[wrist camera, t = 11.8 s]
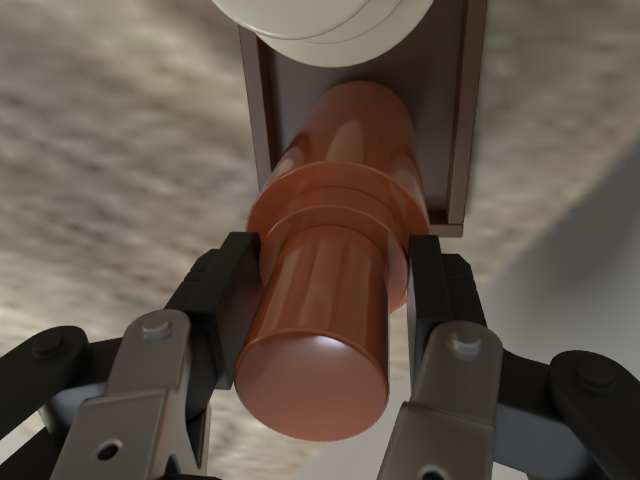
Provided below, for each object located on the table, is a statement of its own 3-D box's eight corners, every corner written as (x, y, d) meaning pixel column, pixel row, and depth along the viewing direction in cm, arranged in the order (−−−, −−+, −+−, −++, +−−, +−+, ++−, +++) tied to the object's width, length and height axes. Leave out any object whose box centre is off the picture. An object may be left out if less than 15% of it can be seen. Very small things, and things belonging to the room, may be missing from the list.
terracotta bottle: (300, 82, 22) (140, 267, 8) (417, 78, 21) (472, 275, 7) (308, 188, 24) (198, 469, 10) (412, 188, 24) (445, 491, 10)
